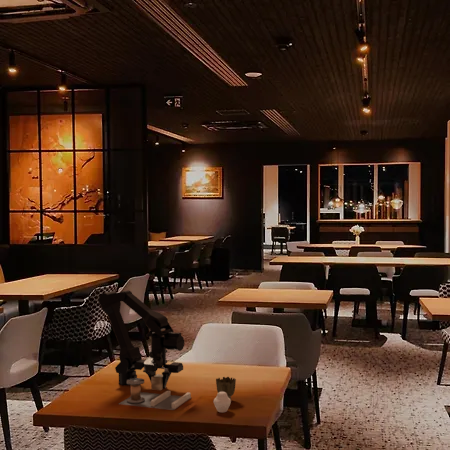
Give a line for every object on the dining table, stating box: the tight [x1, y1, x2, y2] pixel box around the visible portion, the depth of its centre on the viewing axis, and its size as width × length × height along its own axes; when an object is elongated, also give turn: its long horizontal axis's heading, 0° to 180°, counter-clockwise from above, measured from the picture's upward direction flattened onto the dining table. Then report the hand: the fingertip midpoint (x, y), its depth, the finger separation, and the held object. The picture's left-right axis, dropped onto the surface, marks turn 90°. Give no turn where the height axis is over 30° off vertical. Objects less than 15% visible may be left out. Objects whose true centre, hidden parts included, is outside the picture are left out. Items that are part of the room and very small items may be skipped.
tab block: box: [150, 373, 167, 391], centre depth 251 cm, size 4×5×6 cm
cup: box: [215, 376, 237, 401], centre depth 238 cm, size 8×7×8 cm
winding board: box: [118, 390, 192, 411], centre depth 235 cm, size 22×16×3 cm
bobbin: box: [126, 377, 145, 404], centre depth 234 cm, size 6×6×8 cm
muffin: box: [212, 392, 232, 413], centre depth 226 cm, size 6×6×7 cm
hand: (158, 388), depth 251 cm, fingers closed on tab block, 4 cm apart
